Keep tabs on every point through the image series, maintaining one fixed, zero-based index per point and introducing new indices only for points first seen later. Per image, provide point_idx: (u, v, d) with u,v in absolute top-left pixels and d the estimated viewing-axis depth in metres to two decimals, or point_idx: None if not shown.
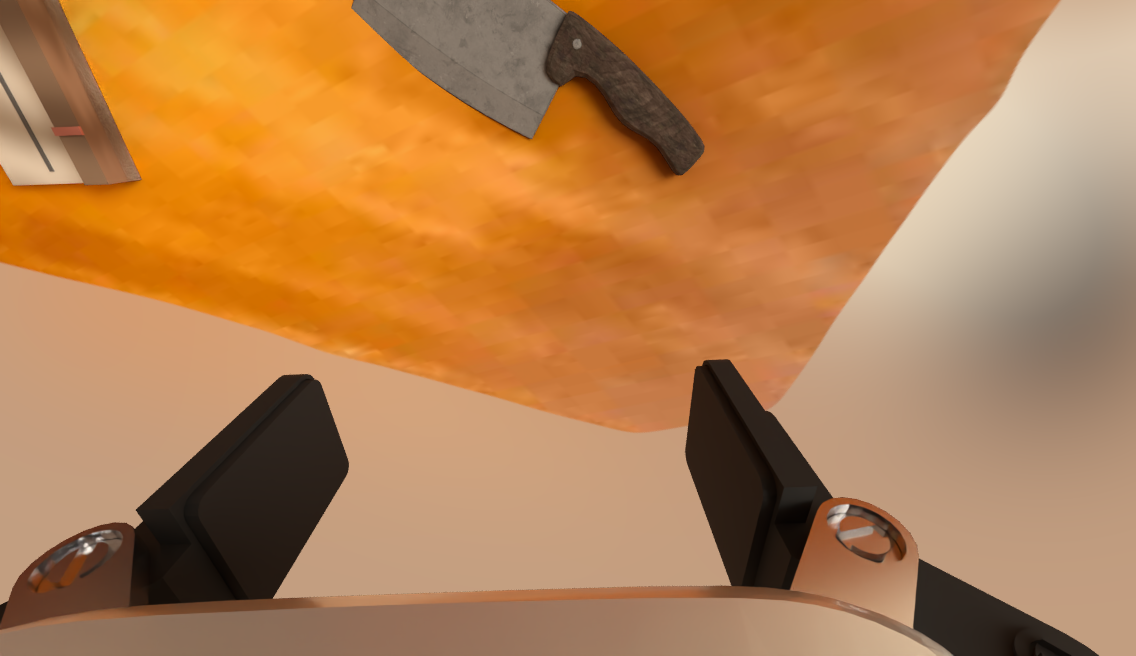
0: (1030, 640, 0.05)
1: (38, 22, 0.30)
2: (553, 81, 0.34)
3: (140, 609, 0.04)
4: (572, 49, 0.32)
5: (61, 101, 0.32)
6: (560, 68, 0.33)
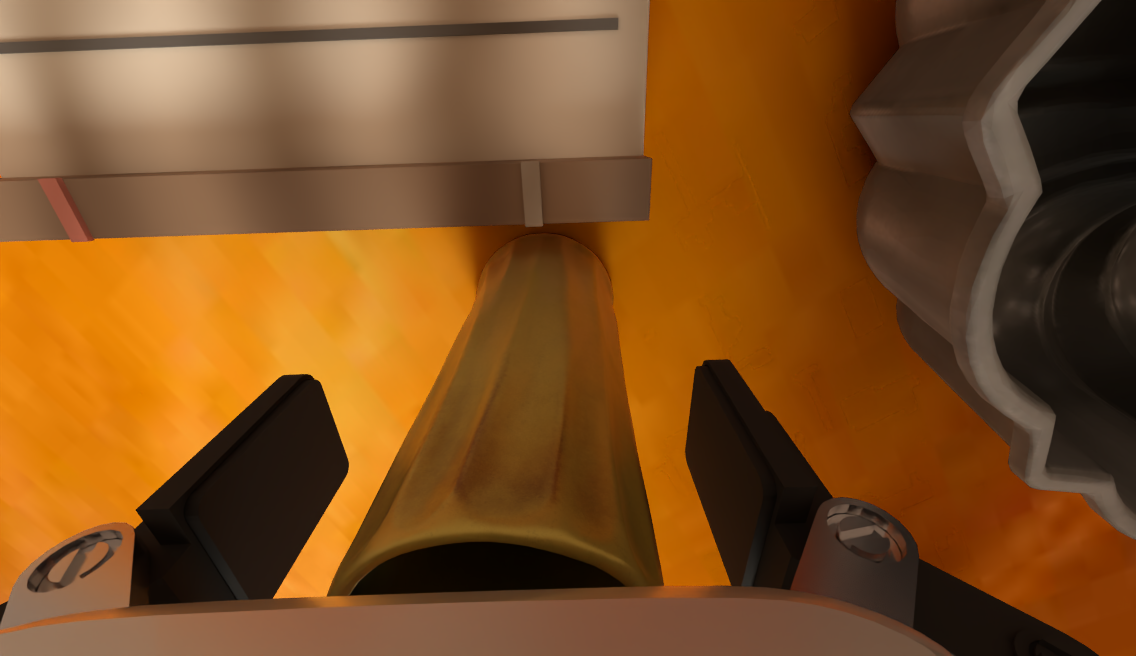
0: (1030, 640, 0.05)
1: None
2: None
3: (140, 609, 0.04)
4: None
5: (135, 224, 0.15)
6: None
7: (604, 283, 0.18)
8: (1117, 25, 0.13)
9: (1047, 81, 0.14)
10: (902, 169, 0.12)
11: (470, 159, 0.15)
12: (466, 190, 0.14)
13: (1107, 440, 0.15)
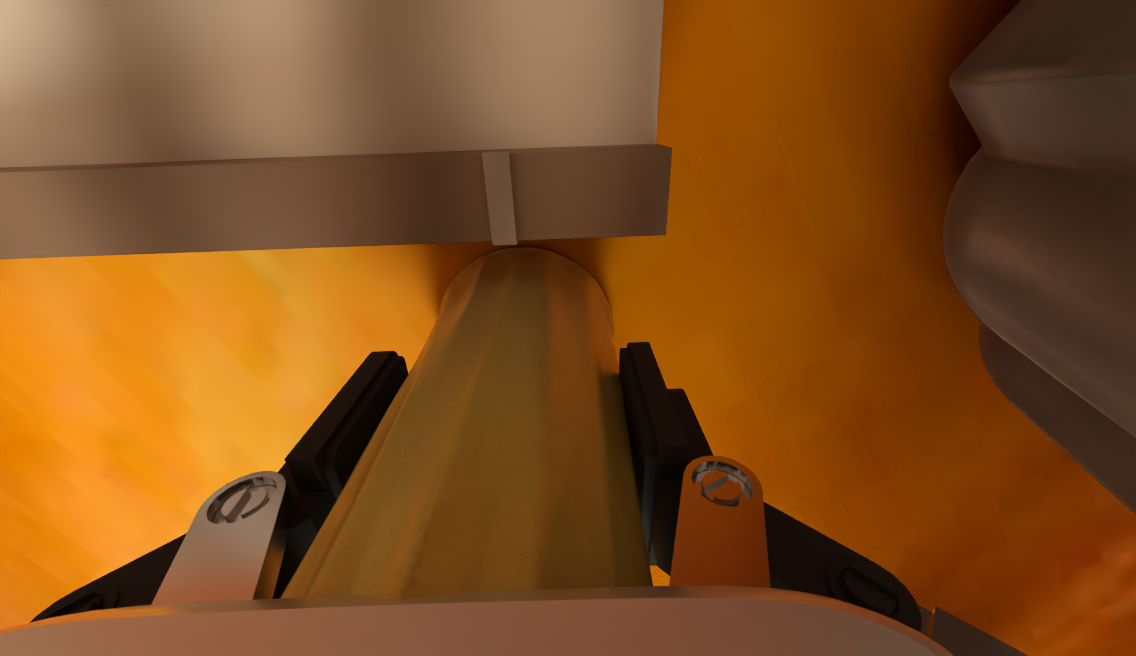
0: (847, 570, 0.06)
1: None
2: None
3: (140, 609, 0.04)
4: None
5: None
6: None
7: (602, 312, 0.14)
8: None
9: None
10: (1050, 163, 0.08)
11: (417, 149, 0.11)
12: (406, 194, 0.10)
13: None
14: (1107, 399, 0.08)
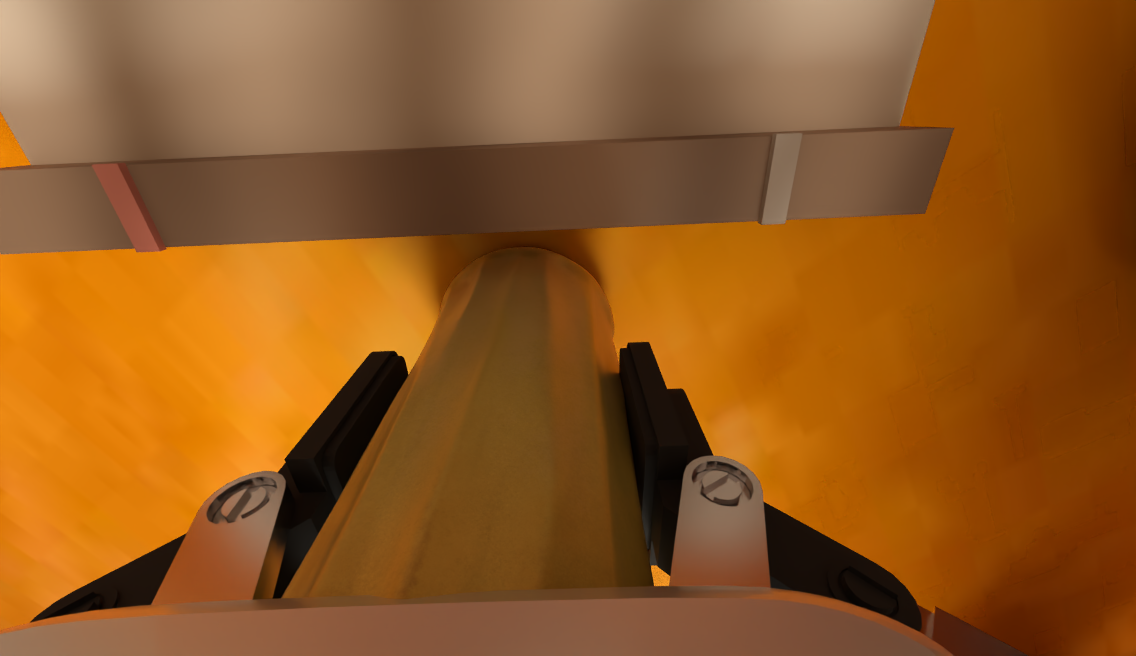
0: (847, 569, 0.06)
1: None
2: None
3: (140, 609, 0.04)
4: None
5: (224, 226, 0.11)
6: None
7: (602, 312, 0.14)
8: None
9: None
10: None
11: (669, 134, 0.11)
12: (688, 175, 0.10)
13: None
14: None
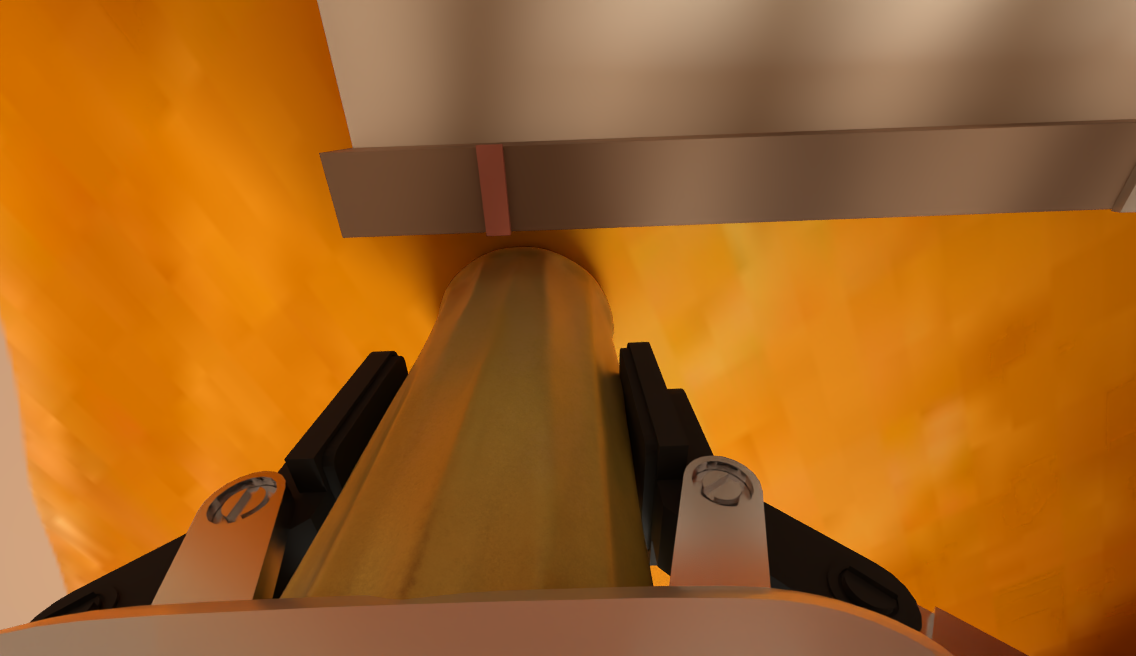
0: (847, 569, 0.06)
1: None
2: None
3: (140, 609, 0.04)
4: None
5: (578, 211, 0.11)
6: None
7: (602, 311, 0.14)
8: None
9: None
10: None
11: (1002, 121, 0.11)
12: (1061, 161, 0.10)
13: None
14: None
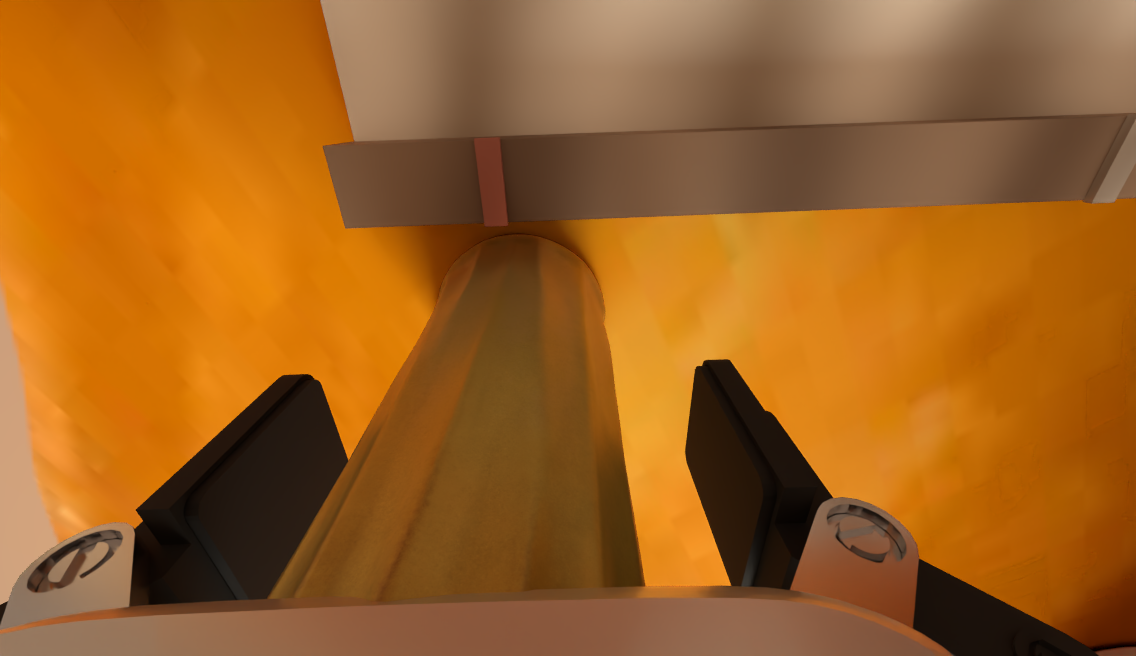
0: (1031, 640, 0.05)
1: None
2: None
3: (140, 609, 0.04)
4: None
5: (573, 202, 0.11)
6: None
7: (594, 296, 0.14)
8: None
9: None
10: None
11: (981, 115, 0.12)
12: (1035, 154, 0.11)
13: None
14: None
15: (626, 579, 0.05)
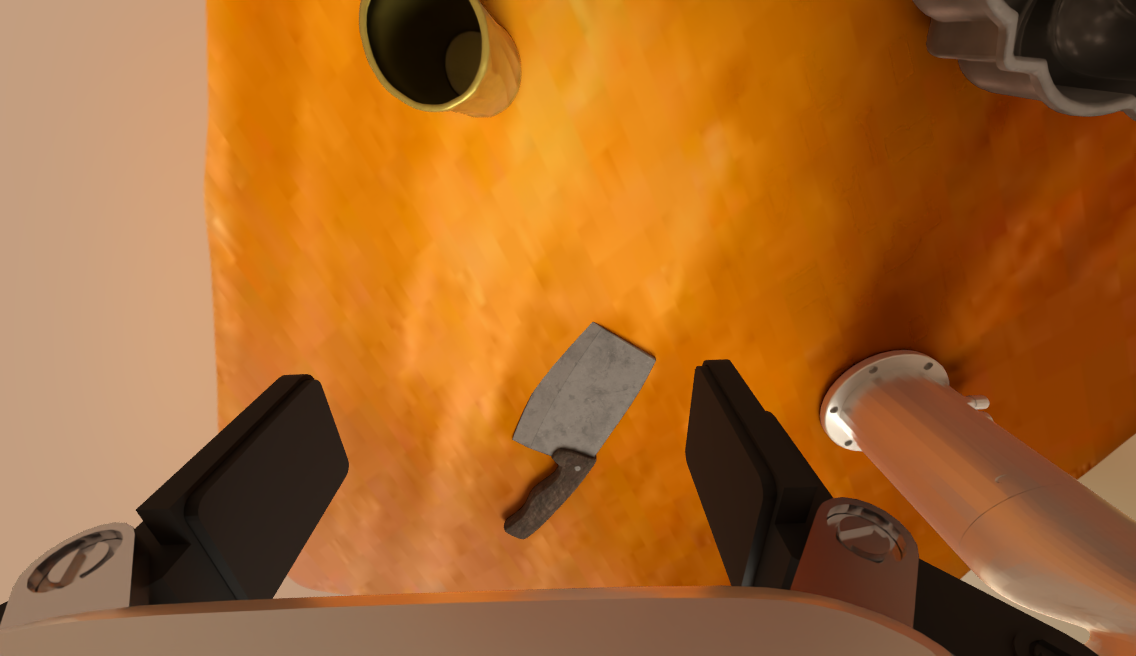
0: (1031, 640, 0.05)
1: None
2: (553, 453, 0.45)
3: (140, 609, 0.04)
4: (574, 466, 0.45)
5: None
6: (561, 460, 0.45)
7: (512, 48, 0.28)
8: None
9: None
10: None
11: None
12: None
13: None
14: None
15: None
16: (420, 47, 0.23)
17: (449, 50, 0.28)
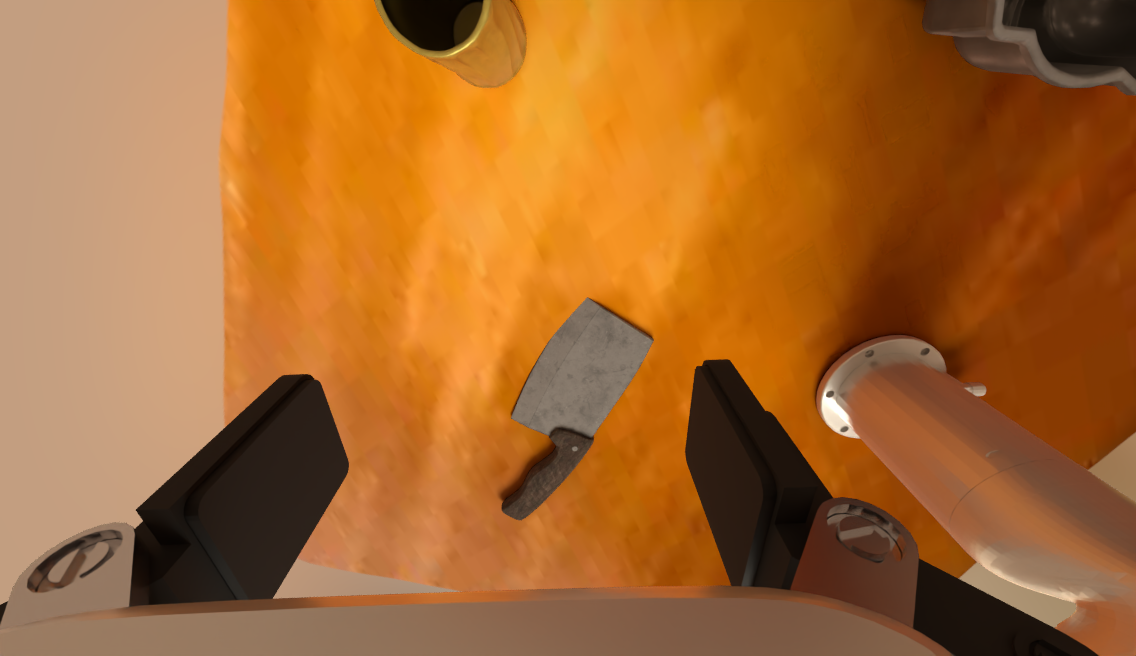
0: (1031, 640, 0.05)
1: None
2: (551, 433, 0.46)
3: (140, 609, 0.04)
4: (571, 446, 0.46)
5: None
6: (559, 440, 0.46)
7: (518, 19, 0.29)
8: None
9: None
10: None
11: None
12: None
13: None
14: None
15: None
16: (428, 9, 0.24)
17: (457, 20, 0.29)
